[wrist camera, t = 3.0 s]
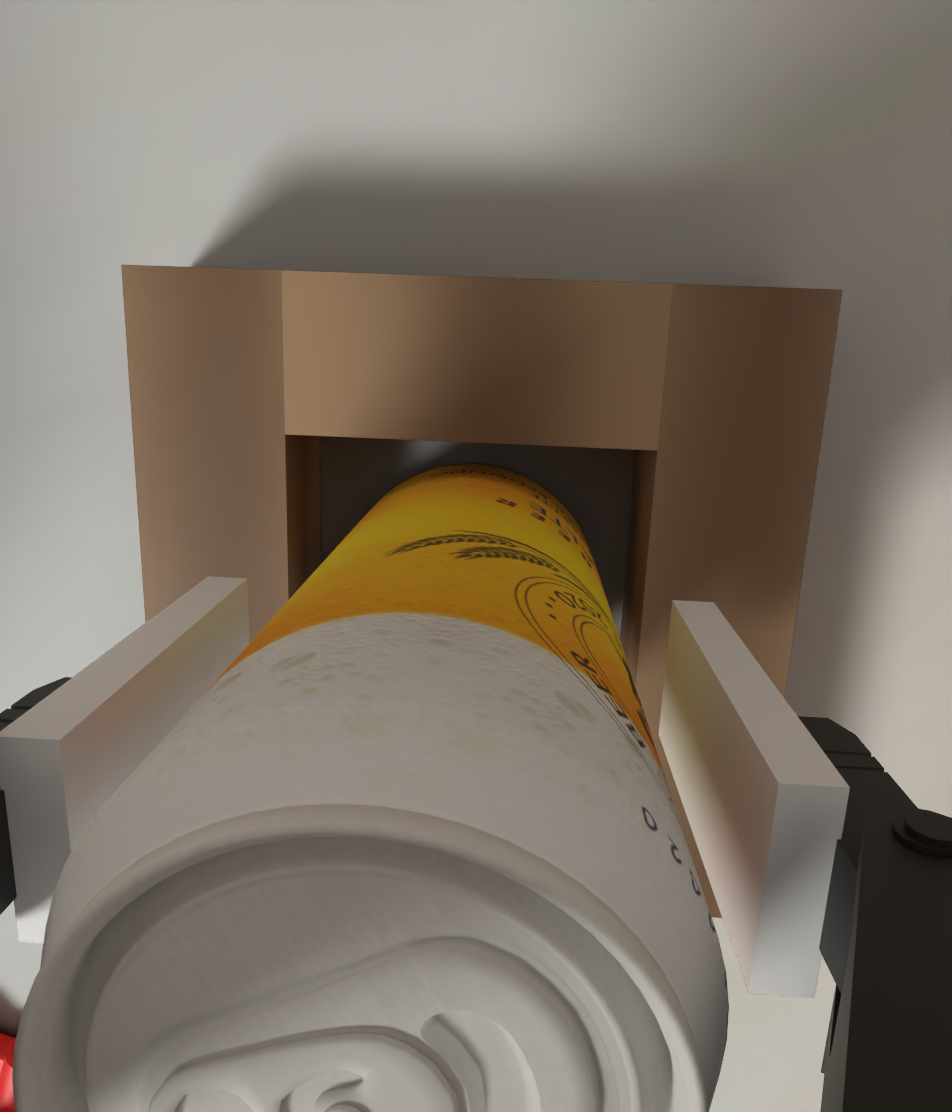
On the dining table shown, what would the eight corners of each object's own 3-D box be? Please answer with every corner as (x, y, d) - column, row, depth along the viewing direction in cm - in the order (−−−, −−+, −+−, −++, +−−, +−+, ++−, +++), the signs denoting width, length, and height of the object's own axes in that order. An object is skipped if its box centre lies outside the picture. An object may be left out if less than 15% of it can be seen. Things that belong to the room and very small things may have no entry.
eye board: (208, 811, 23) (162, 879, 20) (181, 275, 19) (121, 264, 16) (722, 844, 22) (753, 919, 19) (792, 297, 19) (842, 289, 16)
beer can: (622, 655, 21) (847, 1355, 7) (398, 718, 22) (150, 1470, 7) (553, 426, 20) (641, 663, 5) (316, 502, 20) (-187, 895, 6)
